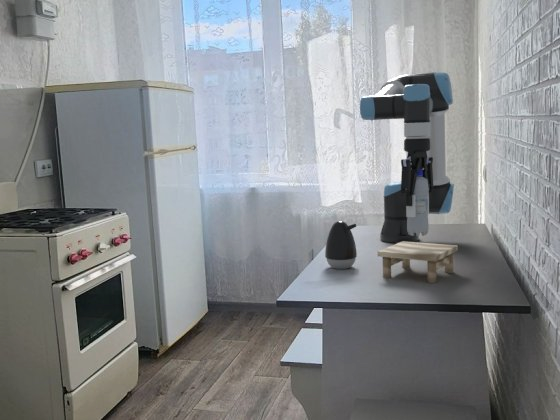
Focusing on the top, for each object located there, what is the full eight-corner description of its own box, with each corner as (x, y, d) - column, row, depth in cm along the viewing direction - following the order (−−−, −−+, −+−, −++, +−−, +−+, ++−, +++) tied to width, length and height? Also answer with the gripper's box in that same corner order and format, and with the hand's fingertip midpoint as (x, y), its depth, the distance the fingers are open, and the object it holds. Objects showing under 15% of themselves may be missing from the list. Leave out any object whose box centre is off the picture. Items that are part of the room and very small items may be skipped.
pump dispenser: (353, 271, 191) (352, 223, 189) (321, 270, 195) (320, 223, 193) (360, 264, 201) (359, 219, 199) (330, 263, 204) (329, 218, 202)
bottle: (406, 236, 180) (405, 169, 178) (406, 233, 187) (405, 167, 184) (429, 236, 179) (429, 168, 176) (428, 233, 185) (428, 167, 183)
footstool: (402, 265, 197) (402, 241, 196) (457, 271, 186) (457, 245, 185) (378, 277, 182) (377, 251, 181) (436, 284, 172) (435, 256, 171)
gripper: (423, 137, 189) (424, 210, 191) (387, 139, 175) (388, 218, 178) (445, 136, 183) (445, 212, 186) (409, 138, 170) (410, 220, 173)
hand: (417, 215), depth 182 cm, fingers closed on bottle, 6 cm apart
